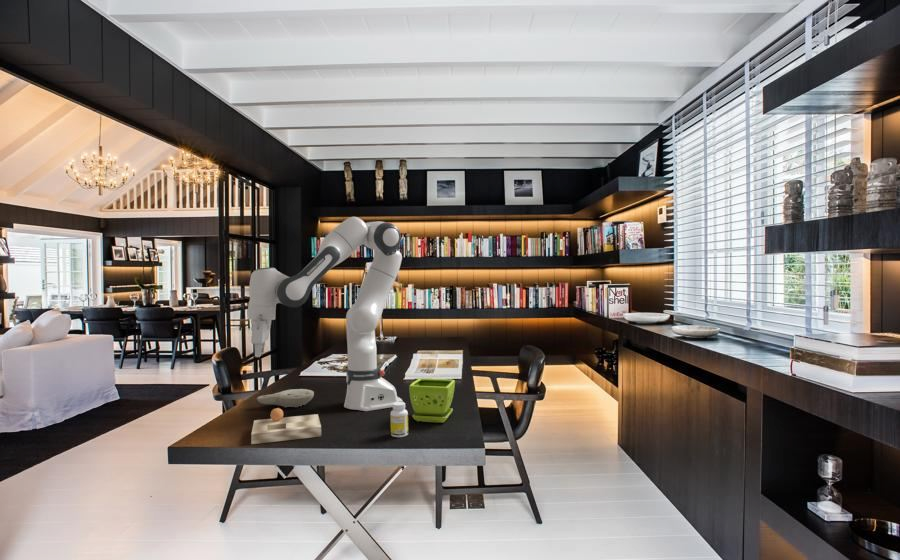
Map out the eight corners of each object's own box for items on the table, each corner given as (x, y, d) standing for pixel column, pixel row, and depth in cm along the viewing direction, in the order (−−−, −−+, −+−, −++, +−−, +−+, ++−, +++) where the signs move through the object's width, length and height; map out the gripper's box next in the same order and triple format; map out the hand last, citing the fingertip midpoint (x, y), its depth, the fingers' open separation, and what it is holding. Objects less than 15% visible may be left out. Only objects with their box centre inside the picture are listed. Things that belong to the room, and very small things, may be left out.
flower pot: (448, 425, 157) (448, 387, 157) (407, 423, 160) (407, 385, 160) (456, 414, 171) (456, 378, 171) (418, 412, 173) (418, 377, 173)
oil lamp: (256, 414, 173) (256, 400, 173) (256, 404, 187) (256, 392, 187) (316, 407, 181) (315, 394, 181) (312, 399, 195) (311, 387, 195)
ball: (283, 418, 157) (283, 406, 157) (283, 421, 153) (283, 409, 153) (270, 419, 155) (270, 407, 155) (270, 423, 152) (270, 410, 152)
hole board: (317, 422, 161) (317, 414, 161) (321, 436, 147) (321, 426, 147) (254, 429, 155) (254, 420, 155) (251, 444, 141) (251, 434, 141)
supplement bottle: (399, 431, 152) (399, 400, 152) (411, 434, 148) (411, 403, 148) (387, 435, 147) (386, 403, 147) (399, 438, 144) (399, 406, 144)
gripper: (268, 315, 153) (266, 358, 152) (273, 314, 173) (271, 352, 172) (247, 315, 151) (245, 358, 151) (255, 313, 171) (253, 352, 170)
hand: (259, 355), depth 162 cm, fingers open, 8 cm apart
